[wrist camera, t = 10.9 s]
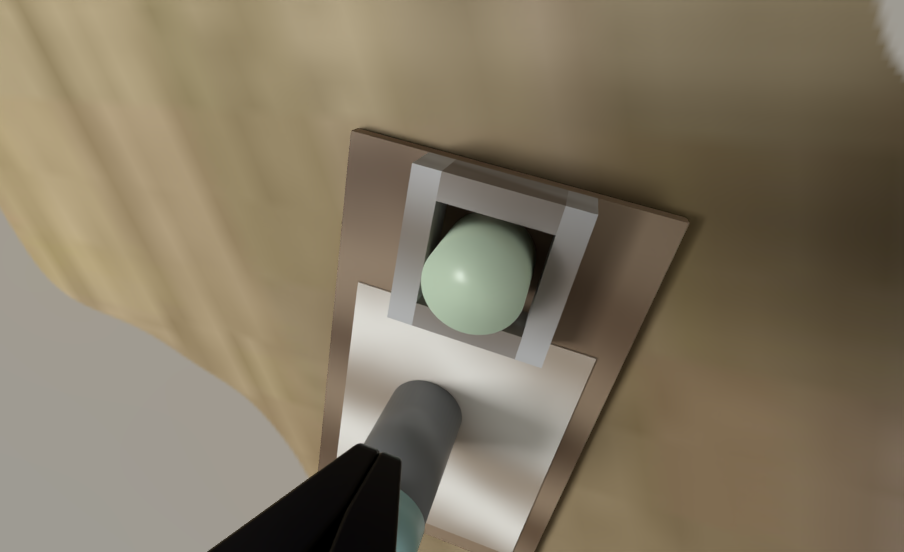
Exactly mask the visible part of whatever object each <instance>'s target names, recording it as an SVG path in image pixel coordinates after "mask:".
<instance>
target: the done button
mask: <svg viewBox="0 0 904 552" xmlns="http://www.w3.org/2000/svg"><path fill="white" fill-rule="evenodd" d="M535 263H536V250H535V245H534V243H533V240H532V238H531V236H530V234H529V233H528V231H527V230H526V229H525V227H524V226H521V225H518V224H514V223H511V222H507V221H504V220H501V219H497V218H494V217H490V216H487V215H483V214H480V213H476V212H473V213H470V214H468V215H466V216H464V217H463V218H461V219H460V220H459V221H457V222H456V223H455V224H454V226H453V227H452V228H451V229H450V230H449V232H448V233H447V234H446V236H445V237H444V238H443V239H442V241H441V242H440V243H439V244H438V246H437V247H436V248H435V249H434V251H433V252H432V253H431V254H430V256H429V257H428V259H427V260H426V262H425V264H424V267H423V270H422V275H421V288H422V293H423V296H424V299H425V301H426V303H427V305H428V307H429V308H430V310H431V311H432V312H433V314H434V315H435V316H436V317H437V318H438V319H439V320H440V321H442V322H443V323H444V324H446V325H447V326H449V327H451V328H452V329H454V330H457V331H459V332H462V333H466V334H472V335H488V334H493V333H496V332H499V331H501V330H503V329H505V328H507V327H508V326H510V325H511V324H512V323H513V322H514V321H515V320H516V319H517V318H518V316H519V315H520V313H521V311H522V309H523V307H524V304H525V300H526V297H527V293H528V290H529V286H530V282H531V279H532V275H533V271H534V268H535Z"/></svg>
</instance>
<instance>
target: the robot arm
mask: <svg viewBox="0 0 904 552" xmlns="http://www.w3.org/2000/svg"><path fill="white" fill-rule="evenodd" d="M401 472H402V459H401V458H400V457H398V456H395V455H393V454H390V453H387V452H381V453H380V452H379V450H378V449H376V448H374V447H371V446H368V445H366V444H363V443H358V444H356V445H354V446H353V447H351V448H350V449H349V450H347V451H346V452H345V453H343V454H342V455H340V456H339V457H338V458H336V459H335V460H333V461H332V462H331V463H329V464H328V465H327V466H325V467H324V468H322V469H321V470H320V471H318V472H317V473H315V474H314V475H313V476H311V477H310V478H309V479H307V480H306V481H304V482H303V483H302V484H300V485H299V486H297V487H296V488H295V489H293V490H292V491H291V492H289V493H288V494H286V495H285V496H284V497H282V498H281V499H280V500H278V501H277V502H275V503H274V504H273V505H271V506H270V507H268V508H267V509H266V510H264V511H263V512H261V513H260V514H259V515H257V516H256V517H255V518H253V519H252V520H250V521H249V522H248V523H246V524H245V525H244V526H242V527H241V528H240V529H238V530H237V531H235V532H234V533H232V534H231V535H230V536H228V537H227V538H226V539H224V540H223V541H221V542H220V543H219V544H217V545H216V546H215V547H213V548H212V549H210V550H209V551H208V552H396V547H397V532H398V517H399V502H400V487H401Z"/></svg>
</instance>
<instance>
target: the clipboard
mask: <svg viewBox="0 0 904 552" xmlns="http://www.w3.org/2000/svg"><path fill="white" fill-rule="evenodd" d="M473 212H476V213H480V214H483V215H487V216H490V217H494V218H497V219H501V220H504V221H507V222H511V223H514V224H518V225H521V226H524V227H525V229H526V230H527V231H528V233H529V234H530V236H531V238H532V240H533V243H534V245H535V250H536V263H535V268H534V271H533V275H532V279H531V282H530V286H529V290H528V293H527V297H526V300H525V304H524V307H523V309H522V311H521V313H520V315H519V316H518V318H517V319H516V320H515V321H514V322H513V323H512V324H511V325H510V326H508V327H507V328H505V329H503V330H501V331H499V332H496V333H493V334H488V335H472V334H466V333H462V332H459V331H457V330H454V329H452V328H451V327H449V326H447V325H446V324H444V323H443V322H442V321H440V320H439V319H438V318H437V317H436V316H435V315H434V314H433V312H432V311H431V310H430V308H429V307H428V305H427V303H426V301H425V299H424V296H423V293H422V288H421V275H422V270H423V267H424V264H425V262H426V260H427V259H428V257H429V256H430V254H431V253H432V252H433V251H434V249H435V248H436V247H437V246H438V244H439V243H440V242H441V241H442V239H443V238H444V237H445V236H446V234H447V233H448V232H449V230H450V229H451V228H452V227H453V226H454V224H455V223H456V222H457V221H459V220H460V219H461V218H463V217H464V216H466V215H468V214H470V213H473ZM688 225H689V222H688V220H687V218H686V217H682V216H678V215H675V214H671V213H667V212H664V211H660V210H656V209H653V208H649V207H645V206H642V205H638V204H634V203H631V202H627V201H623V200H620V199H616V198H612V197H609V196H605V195H601V194H598V193H594V192H590V191H587V190H583V189H579V188H576V187H572V186H568V185H565V184H561V183H557V182H554V181H550V180H546V179H543V178H539V177H535V176H532V175H528V174H524V173H521V172H517V171H513V170H510V169H506V168H502V167H499V166H495V165H491V164H488V163H484V162H480V161H477V160H473V159H469V158H466V157H462V156H458V155H455V154H451V153H447V152H444V151H440V150H436V149H433V148H429V147H425V146H422V145H418V144H414V143H411V142H407V141H403V140H400V139H396V138H392V137H389V136H385V135H381V134H378V133H374V132H370V131H367V130H363V129H359V128H357V129H354V130H352V131H351V136H350V146H349V157H348V167H347V178H346V188H345V198H344V209H343V219H342V229H341V240H340V250H339V260H338V271H337V281H336V291H335V302H334V312H333V322H332V333H331V343H330V354H329V364H328V374H327V385H326V395H325V405H324V416H323V426H322V436H321V447H320V457H319V467H318V471H320V470H321V469H322V468H324V467H325V466H327V465H328V464H329V463H331V462H332V461H333V460H335V459H336V458H338V457H339V456H340V455H342V454H343V453H345V452H346V451H347V450H349V449H350V448H351V447H353V446H354V445H356V444H358V443H363V444H364V442H365V440H366V439H367V437H368V435H369V434H370V432H371V430H372V428H373V427H374V425H375V423H376V422H377V420H378V418H379V416H380V415H381V413H382V411H383V410H384V408H385V406H386V404H387V403H388V401H389V399H390V398H391V396H392V394H393V393H394V391H395V390H396V389H397V388H398V387H399V386H400V385H401V384H403V383H406V382H409V381H416V380H419V381H427V382H431V383H434V384H436V385H438V386H440V387H442V388H443V389H445V390H446V391H448V392H449V393H450V394H451V395H452V396H453V397H454V398H455V400H456V401H457V403H458V404H459V407H460V409H461V413H462V422H461V426H460V428H459V431H458V434H457V437H456V440H455V442H454V445H453V448H452V451H451V454H450V456H449V459H448V462H447V465H446V468H445V470H444V473H443V476H442V479H441V482H440V485H439V487H438V490H437V493H436V496H435V499H434V501H433V504H432V507H431V510H430V513H429V515H428V518H427V521H426V524H425V530H424V533H425V534H427V535H430V536H433V537H435V538H438V539H440V540H443V541H445V542H448V543H450V544H453V545H455V546H458V547H460V548H463V549H465V550H468V551H471V552H534V551H535V549H536V547H537V545H538V543H539V541H540V539H541V537H542V534H543V532H544V530H545V528H546V526H547V524H548V522H549V520H550V518H551V515H552V513H553V511H554V509H555V507H556V505H557V503H558V501H559V498H560V496H561V494H562V492H563V490H564V488H565V486H566V484H567V482H568V479H569V477H570V475H571V473H572V471H573V469H574V467H575V465H576V462H577V460H578V458H579V456H580V454H581V452H582V450H583V448H584V446H585V443H586V441H587V439H588V437H589V435H590V433H591V431H592V429H593V426H594V424H595V422H596V420H597V418H598V416H599V414H600V412H601V410H602V407H603V405H604V403H605V401H606V399H607V397H608V395H609V393H610V390H611V388H612V386H613V384H614V382H615V380H616V378H617V376H618V374H619V371H620V369H621V367H622V365H623V363H624V361H625V359H626V357H627V354H628V352H629V350H630V348H631V346H632V344H633V342H634V340H635V338H636V335H637V333H638V331H639V329H640V327H641V325H642V323H643V321H644V318H645V316H646V314H647V312H648V310H649V308H650V306H651V304H652V302H653V299H654V297H655V295H656V293H657V291H658V289H659V287H660V285H661V282H662V280H663V278H664V276H665V274H666V272H667V270H668V268H669V265H670V263H671V261H672V259H673V257H674V255H675V253H676V251H677V249H678V246H679V244H680V242H681V240H682V238H683V236H684V234H685V232H686V229H687V227H688Z"/></svg>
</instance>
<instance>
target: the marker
mask: <svg viewBox="0 0 904 552" xmlns="http://www.w3.org/2000/svg"><path fill="white" fill-rule="evenodd" d="M461 422H462V413H461V409H460V407H459V404H458V403H457V401H456V400H455V398H454V397H453V396H452V395H451V394H450V393H449V392H448V391H446V390H445V389H443V388H442V387H440V386H438V385H436V384H434V383H431V382H427V381H419V380H416V381H409V382H406V383H403V384H401V385H400V386H399V387H398V388H397V389H396V390H395V391H394V393H393V394H392V396H391V398H390V399H389V401H388V403H387V404H386V406H385V408H384V410H383V411H382V413H381V415H380V416H379V418H378V420H377V422H376V423H375V425H374V427H373V428H372V430H371V432H370V434H369V435H368V437H367V439H366V440H365V442H364V444H366V445H368V446H371V447H374V448H376V449H378V450H379V452H380V453H381V452H387V453H390V454H393V455H395V456H398V457H400V458H401V459H402V472H401V487H400V502H399V517H398V532H397V547H396V552H417V551H418V548H419V545H420V542H421V539H422V537H423V534H424V530H425V524H426V521H427V518H428V515H429V513H430V510H431V507H432V504H433V501H434V499H435V496H436V493H437V490H438V487H439V485H440V482H441V479H442V476H443V473H444V470H445V468H446V465H447V462H448V459H449V456H450V454H451V451H452V448H453V445H454V442H455V440H456V437H457V434H458V431H459V428H460V426H461Z"/></svg>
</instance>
